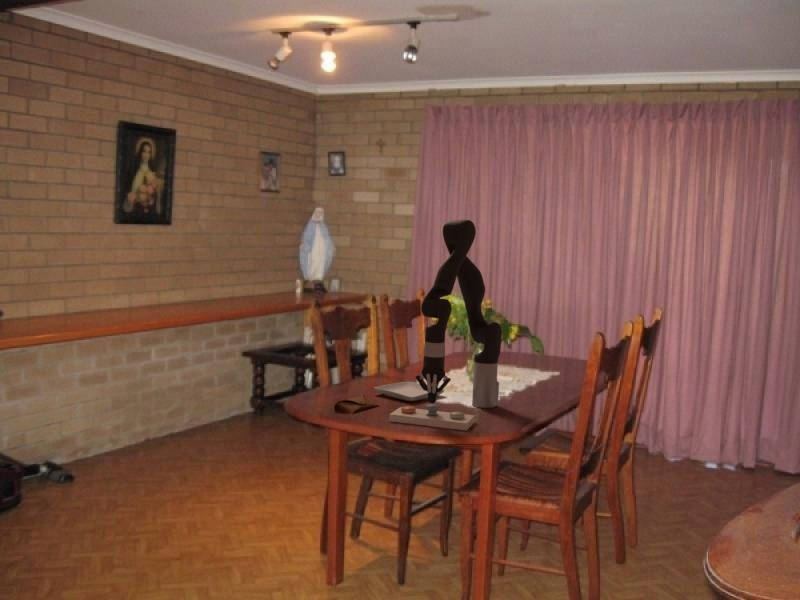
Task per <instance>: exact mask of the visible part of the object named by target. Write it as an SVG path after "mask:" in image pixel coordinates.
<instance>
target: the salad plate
mask: <svg viewBox="0 0 800 600" xmlns="http://www.w3.org/2000/svg"><path fill="white" fill-rule="evenodd" d="M373 388H374V390H375V391H377V392H378V393H380V394H381V395H384V396H387V397H389V398H393V399H398V400H402V401H407V402H416V401H420V400H425V399H428V392H427V391H426V390H423V389H422V387H421V385H420V384H419V382H413V381H401V382H394V383H388V384H383V385H379V386H374V387H373ZM445 391H446V389H445V388H444V389H443V390H442V391H440V392H437V396H440V395H441V394H443V393H444V392H445Z"/></svg>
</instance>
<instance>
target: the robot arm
mask: <svg viewBox="0 0 800 600" xmlns="http://www.w3.org/2000/svg"><path fill="white" fill-rule="evenodd" d="M476 232H477V230H476V226H475V224H474V221H472V220H470V219H459V220H457V219H456V220H447V221H445V222H444V224H443V226H442V237H443V240H444V244H445V246H446V249H447V252H448V255H449V256H448V258H447V259H446V260H445V261H443V263H442V264H441V266H440V267H439V268H438V270H437V272H436V273H437V274H436V276H435V279H434V281H433V285H432V287H431V288H430V290H429V291H428V292H427V294H426V295H425V297H424V298H423V301H422V302H421V305H420V306H421V307H420V308H421V309H420V310H421V313H422V315H423V316H424V317H426V318H430V319H431V318H432V319H438V320H437V321H436V323H435V324H434V323H433V324H428V325H426V326H425V329H424V330H425V332H424V333H425V334H424V345H423V353H422V354H423V357H422V358H423V359H422V360H423V361H422V370H421V373H420V374H418V375H416V376H415V379H416V381H417V383H418V384H420V385H421V387H422V389H423V390H426V391H427V392H428V398H427V401H428V402H429V404H436V402H437V398H438V395H437V392H440V391H442V390H443V389H444V390H445V388H446V386H448V384H449V383H450V382H451V381H452V380H451V377H448V376H447V375H446V371H445V364H446V363H445V362H446V361H445V359H446V330H447V326H448V323H449V320H450V317H451V313H452V304H451V302H450V300H449V299H447V298H443V297H449V296H450V295H451V294H452V293H453V290H454V286H455V283H456V280H457V283H458V286H459V290H460V293H461V296H462V298H463V303H464V306H465V309H466V310H465V311H466V316H467V321H468V328H469V332H470V336H471V339H472V340H473V341H474V342H475V343H477V344H481V345H483V350H482V351H480V352H477V353H475V354H474V356H473V379H472V401H471V404H472V406H474V407H477V408H481V409H482V408H483V409H493V408H495V407H499V392H500V382H499V381H498V365H499V357H500V354H501V346H502V337H503V333H502V331H503V330H502V326H501V325H500V323H498V322H496V321H490V320H485V318H484V314H483V310H482V305H483V300H484V298H485V294H486V286H485V282H484V278H483V275H482V272H481V270H480V269H479V268H478V267H477V266H476V264H475V263H474V262H473V261H472V260H471V259H470V258H469V257H468V253H469V251H470V250H471V248H472V246H473V244H474V241H475V239H476ZM425 381H426V382H425ZM441 381H442V382H443V383H442V384H440V386H439V383H441Z"/></svg>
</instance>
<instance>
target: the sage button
mask: <svg viewBox="0 0 800 600" xmlns="http://www.w3.org/2000/svg"><path fill="white" fill-rule="evenodd" d="M449 413H450V417H451V418H453V419H460V420H461V419H462V418H464V417H465V414H466V413H464V412H462V411H451V412H449Z"/></svg>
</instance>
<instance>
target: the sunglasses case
mask: <svg viewBox="0 0 800 600" xmlns="http://www.w3.org/2000/svg"><path fill="white" fill-rule="evenodd" d="M333 407H334V408H333V409H334V412H338V413H342V414H343V413H344V414H347V413H348V415H354V414H356V413H359V412H363V411H366V410H369V409H374V408H377V407H380V405H378V404H377V403H375V402H374V401H373V400H371V399H370V398H369V397H367V396H366V395H365V394H363V395H360V396H356V397H351V398H347V399H344V400H338V401H337V402H336V403H335V404H334V406H333Z"/></svg>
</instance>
